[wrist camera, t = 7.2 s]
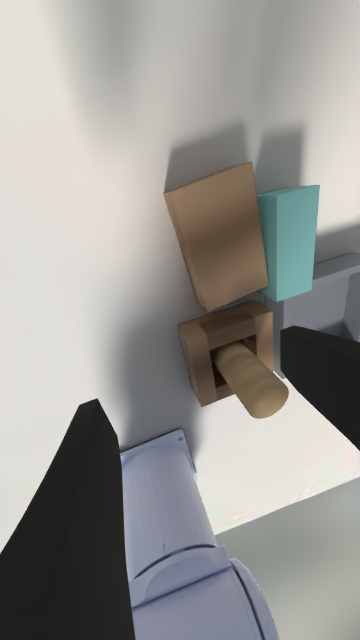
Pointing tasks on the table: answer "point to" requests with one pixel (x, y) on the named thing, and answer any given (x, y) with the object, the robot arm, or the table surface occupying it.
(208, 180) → the tan wooden slab
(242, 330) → the socket
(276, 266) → the teal rectangular block
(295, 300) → the tray
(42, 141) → the table surface
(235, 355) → the dowel
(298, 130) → the table surface
